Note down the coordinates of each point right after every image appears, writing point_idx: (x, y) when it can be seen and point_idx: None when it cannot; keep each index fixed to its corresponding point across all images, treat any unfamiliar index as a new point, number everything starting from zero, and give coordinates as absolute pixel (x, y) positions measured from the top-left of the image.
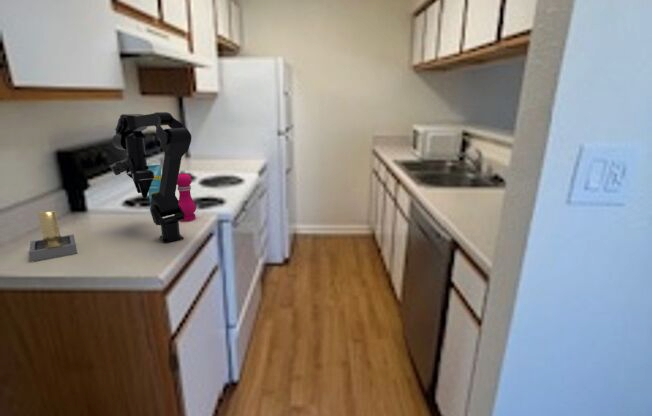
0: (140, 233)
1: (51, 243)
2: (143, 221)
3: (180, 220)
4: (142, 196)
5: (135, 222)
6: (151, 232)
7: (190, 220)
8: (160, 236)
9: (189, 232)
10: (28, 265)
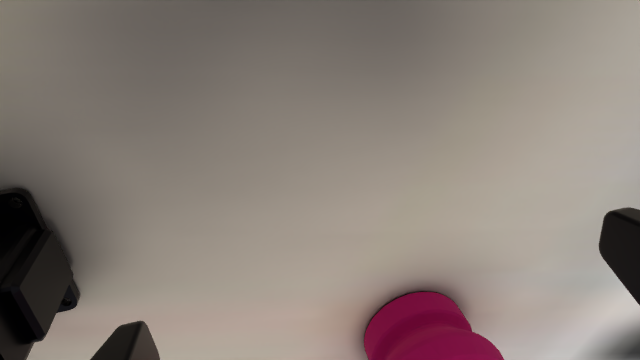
0: (217, 44)
1: None
2: (544, 70)
3: (395, 301)
4: (113, 342)
5: (559, 8)
6: (210, 128)
7: (365, 349)
8: (22, 199)
9: None
10: None
